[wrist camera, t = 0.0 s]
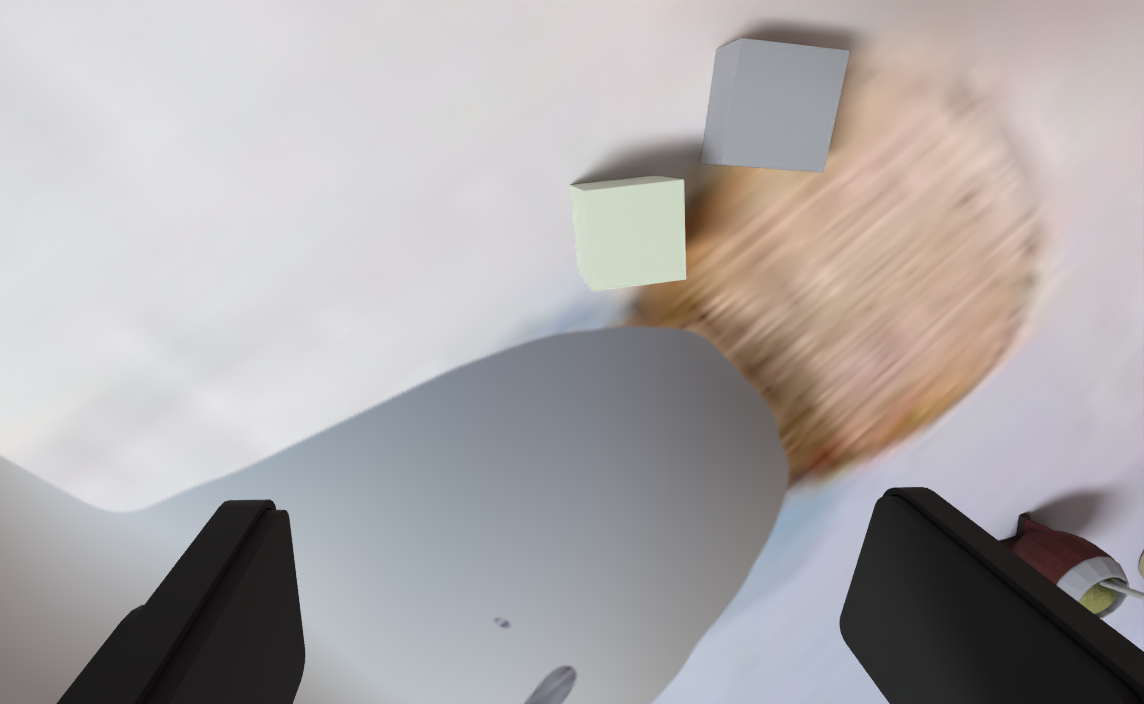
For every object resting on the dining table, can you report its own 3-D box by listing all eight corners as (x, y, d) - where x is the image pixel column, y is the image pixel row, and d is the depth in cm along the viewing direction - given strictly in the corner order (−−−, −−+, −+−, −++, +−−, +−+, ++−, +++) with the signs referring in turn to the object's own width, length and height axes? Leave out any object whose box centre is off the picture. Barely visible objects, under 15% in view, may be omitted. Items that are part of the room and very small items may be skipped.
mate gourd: (984, 573, 56) (1149, 713, 42) (991, 512, 53) (1170, 641, 39) (1051, 554, 56) (1236, 687, 42) (1061, 493, 53) (1263, 613, 39)
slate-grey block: (715, 50, 35) (741, 38, 32) (813, 61, 36) (850, 50, 33) (698, 163, 38) (721, 164, 34) (791, 170, 39) (823, 172, 35)
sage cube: (569, 184, 37) (583, 191, 31) (655, 175, 37) (683, 179, 32) (577, 271, 39) (592, 291, 33) (658, 261, 40) (686, 279, 34)
